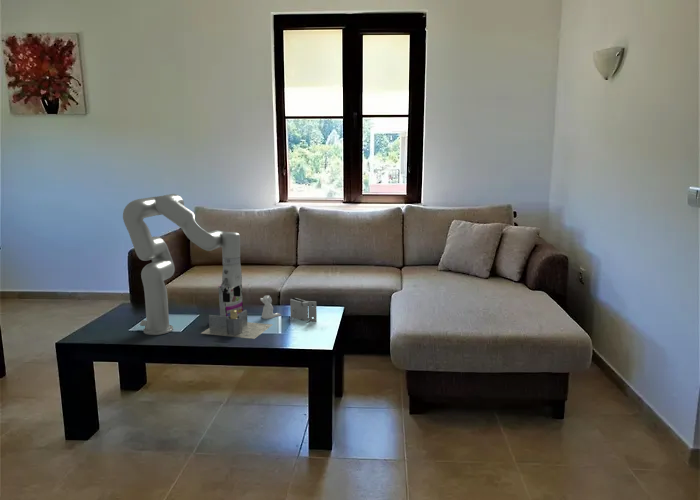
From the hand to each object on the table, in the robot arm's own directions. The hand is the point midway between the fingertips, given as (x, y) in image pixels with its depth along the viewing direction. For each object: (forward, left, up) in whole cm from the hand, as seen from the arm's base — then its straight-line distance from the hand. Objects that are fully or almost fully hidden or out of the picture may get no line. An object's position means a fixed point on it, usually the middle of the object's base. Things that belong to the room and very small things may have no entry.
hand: (231, 298), depth 237 cm
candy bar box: (-13, +24, -17) cm, 32 cm away
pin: (+1, 0, -15) cm, 15 cm away
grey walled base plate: (0, +5, -16) cm, 17 cm away
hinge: (+23, +28, -17) cm, 40 cm away
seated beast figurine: (+6, +26, -17) cm, 32 cm away
